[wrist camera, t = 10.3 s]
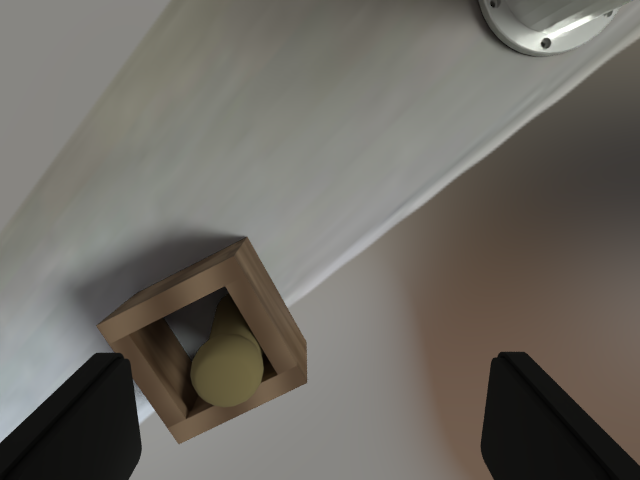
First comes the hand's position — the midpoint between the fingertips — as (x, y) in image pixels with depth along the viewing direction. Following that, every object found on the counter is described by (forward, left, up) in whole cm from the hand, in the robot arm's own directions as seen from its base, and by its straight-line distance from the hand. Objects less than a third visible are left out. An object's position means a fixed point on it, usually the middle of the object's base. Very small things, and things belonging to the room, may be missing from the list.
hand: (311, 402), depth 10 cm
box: (+11, +5, -26) cm, 29 cm away
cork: (+9, +5, -26) cm, 28 cm away
